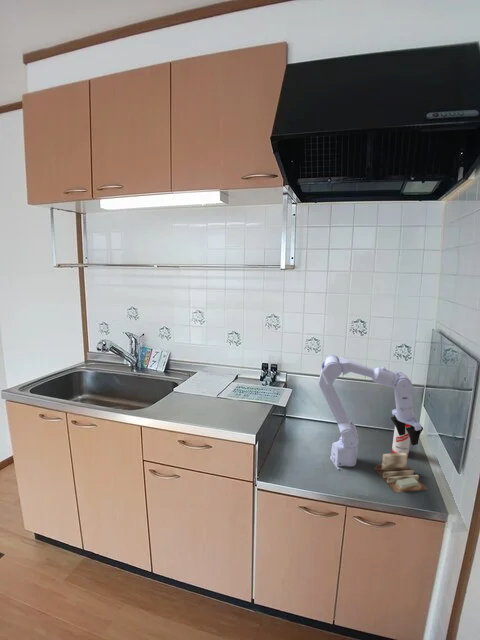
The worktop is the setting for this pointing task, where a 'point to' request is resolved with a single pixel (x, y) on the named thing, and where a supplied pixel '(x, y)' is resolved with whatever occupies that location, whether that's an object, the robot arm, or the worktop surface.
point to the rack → (397, 476)
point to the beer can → (401, 441)
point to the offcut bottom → (409, 487)
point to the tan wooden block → (394, 460)
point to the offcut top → (407, 482)
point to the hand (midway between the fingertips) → (408, 439)
